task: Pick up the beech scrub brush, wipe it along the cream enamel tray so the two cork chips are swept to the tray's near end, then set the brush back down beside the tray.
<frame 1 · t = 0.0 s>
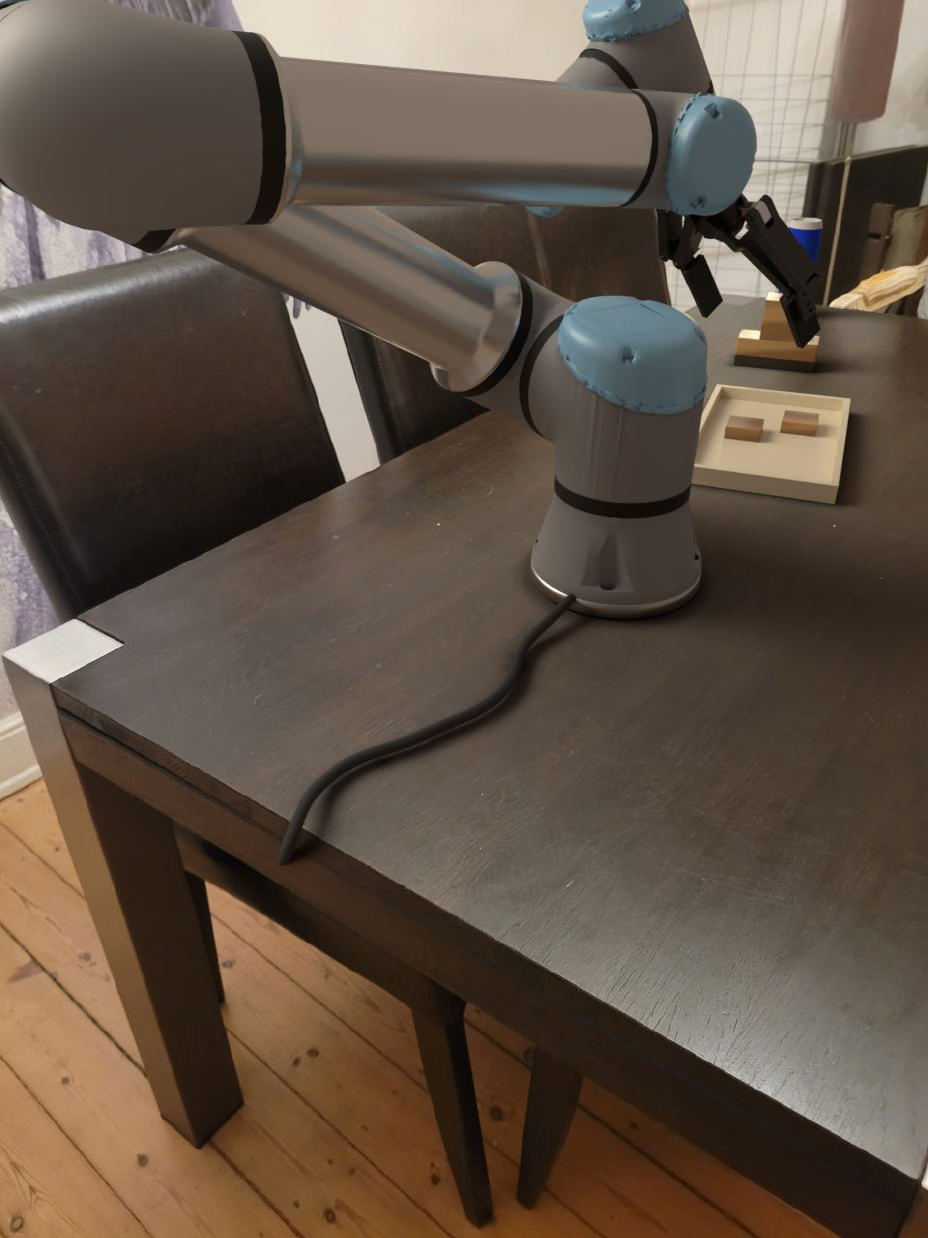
hand: (758, 322, 98), 15 cm above the table, tool tilted 35°, fingers open, 13 cm apart
chip a: (798, 429, 112), point 1 cm above the table, touching tray
tray: (767, 445, 109), on the table
beverage can: (790, 316, 156), on the table
chip b: (743, 434, 111), point 1 cm above the table, touching tray
brush: (774, 364, 134), on the table
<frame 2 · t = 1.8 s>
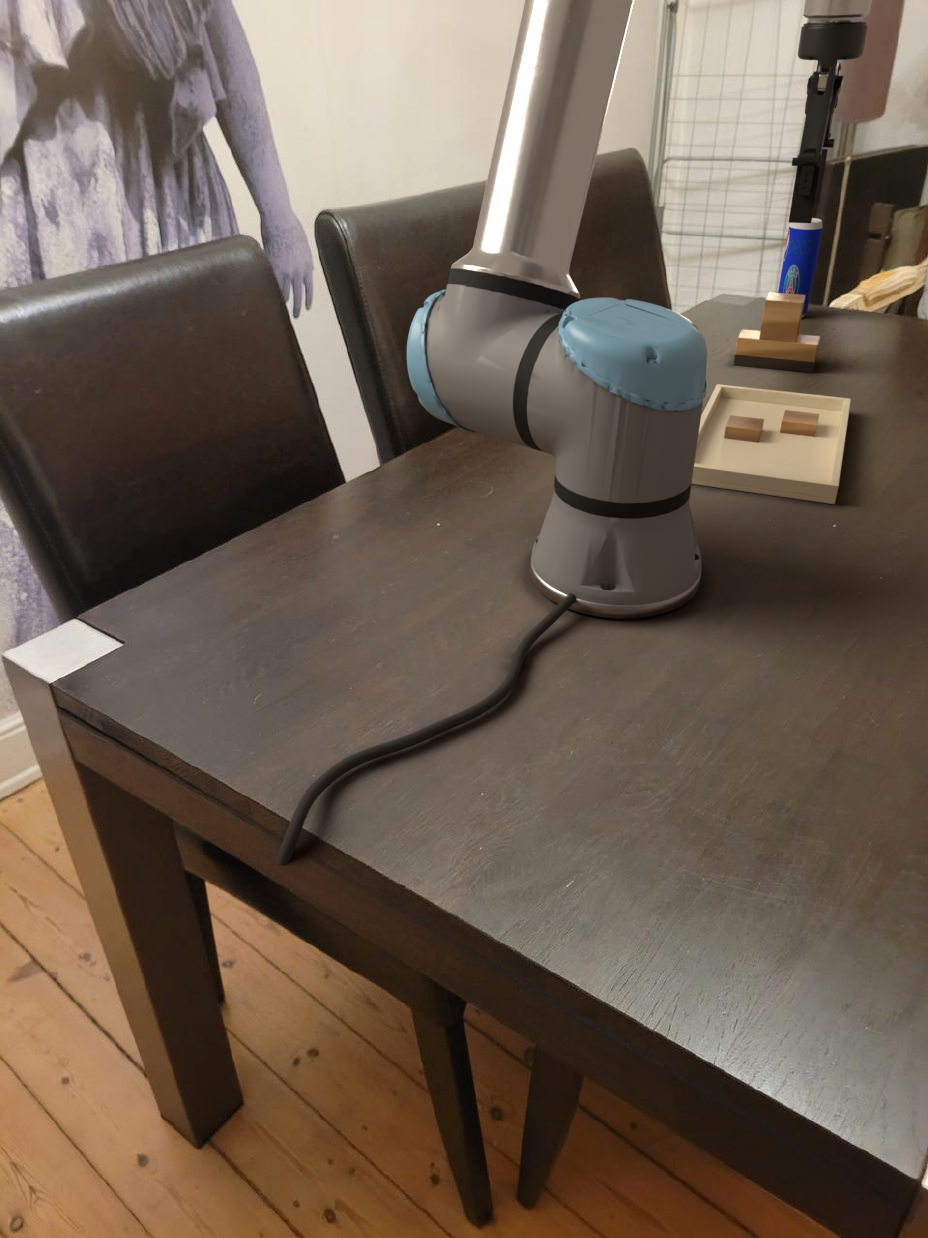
hand: (804, 211, 122), 21 cm above the table, tool pointing down, fingers open, 13 cm apart
nothing on the table moved.
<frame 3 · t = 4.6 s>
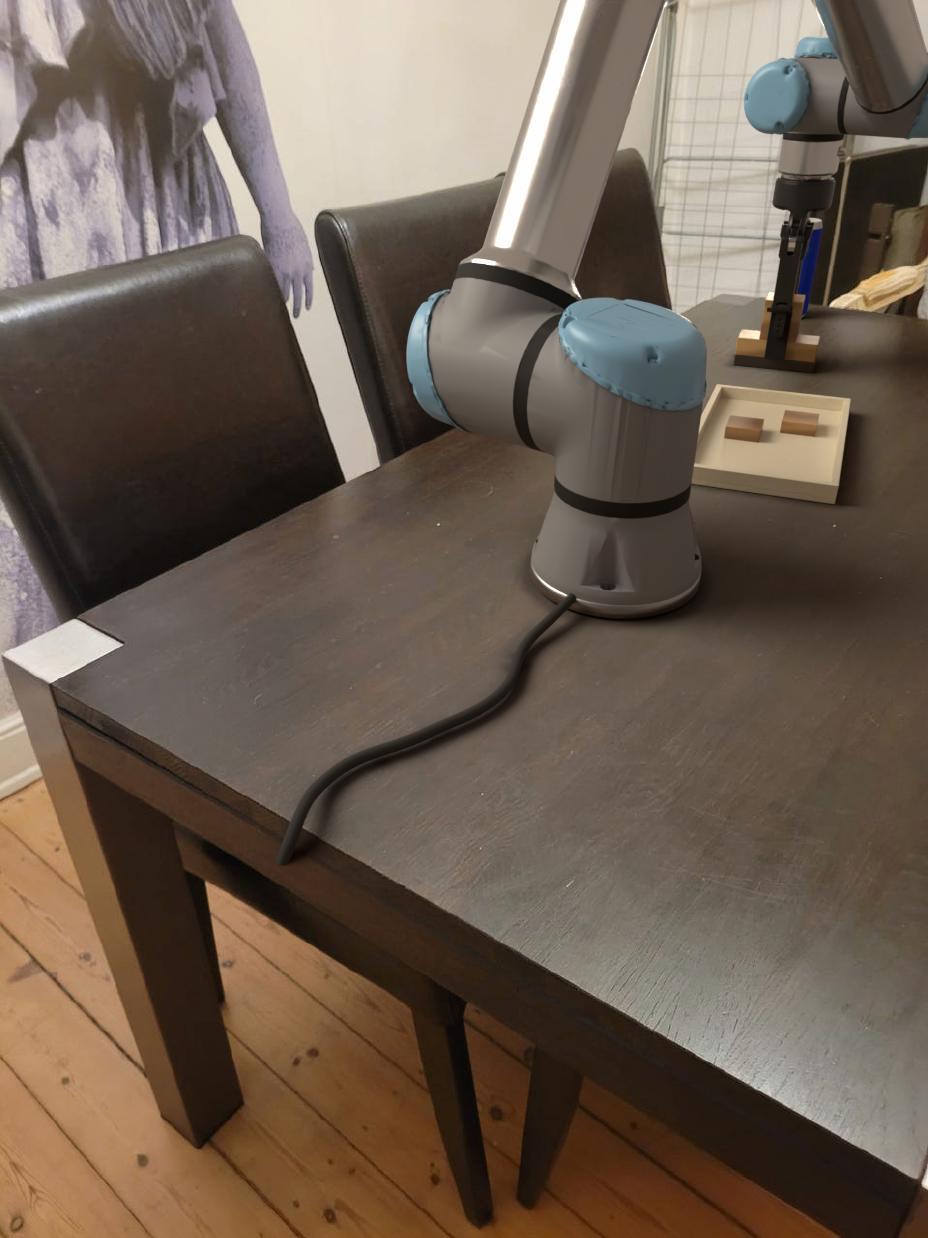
hand: (776, 352, 133), 2 cm above the table, tool pointing down, fingers closed on brush, 4 cm apart
brush: (774, 364, 134), on the table, touching gripper
everything else where it was.
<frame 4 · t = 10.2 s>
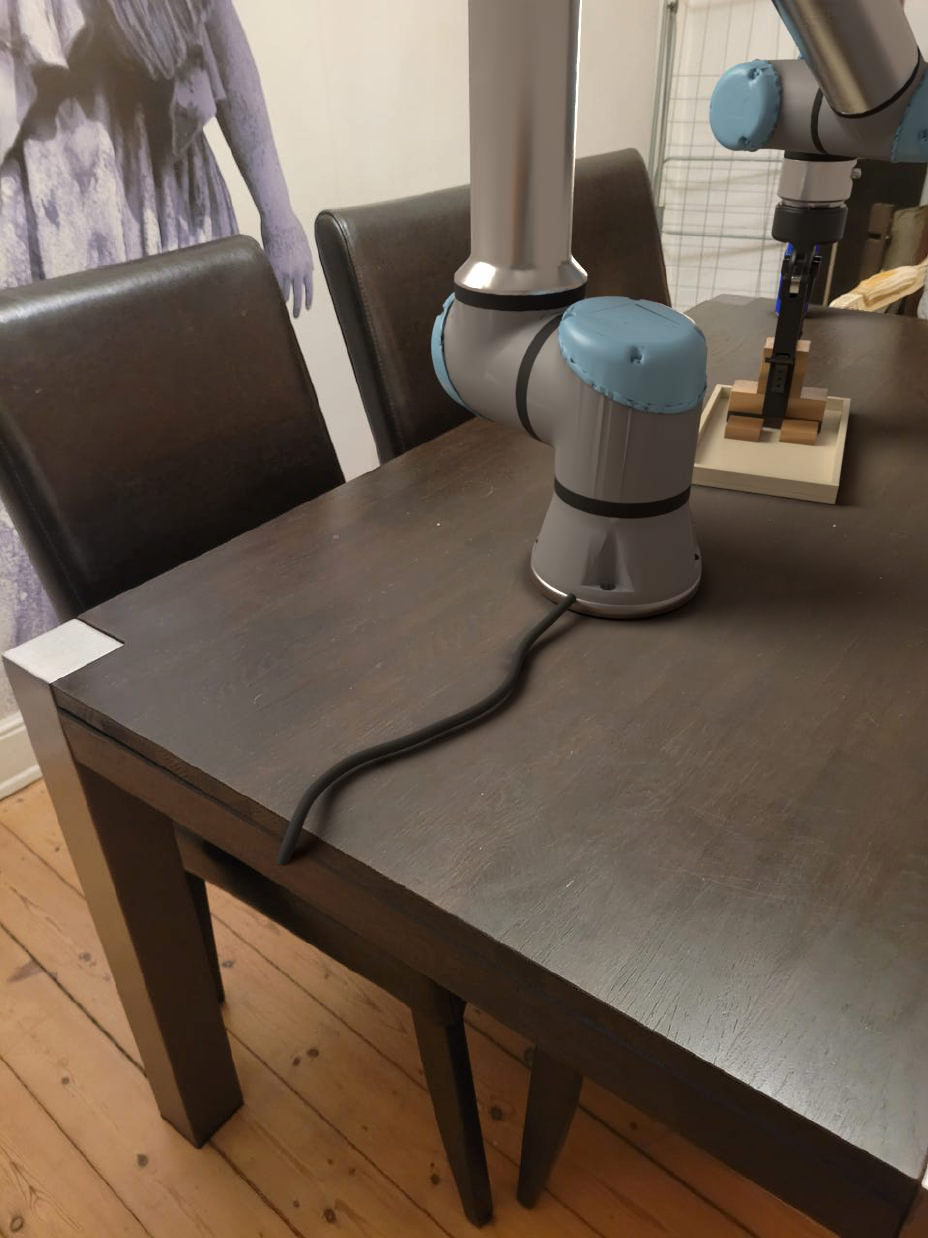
hand: (775, 408, 113), 2 cm above the table, tool pointing down, fingers closed on brush, 5 cm apart
chip a: (797, 437, 109), point 1 cm above the table, touching brush, gripper, tray
brush: (773, 421, 114), point 1 cm above the table, touching chip a, gripper
everything else where it was.
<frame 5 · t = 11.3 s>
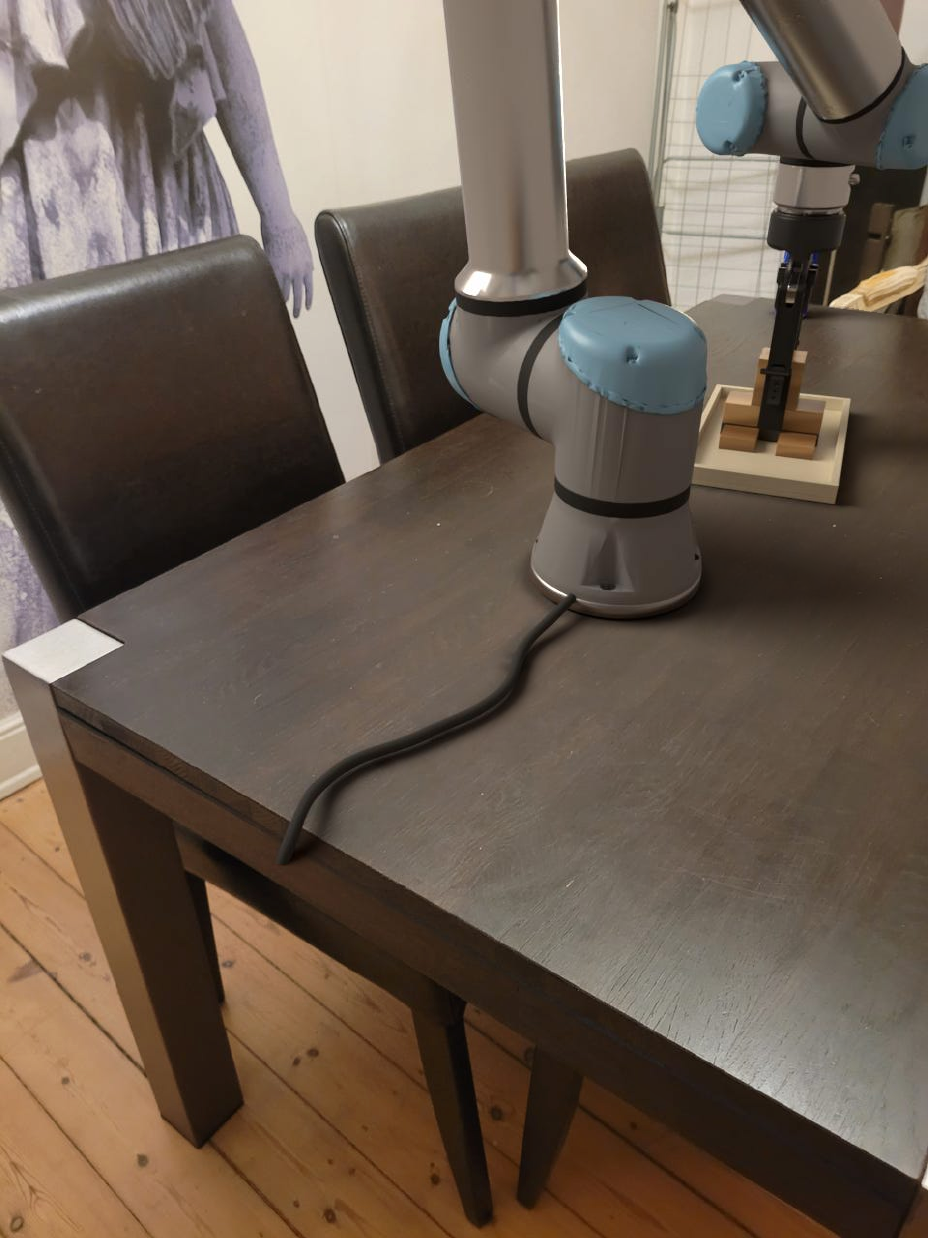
hand: (771, 420, 109), 2 cm above the table, tool pointing down, fingers closed on brush, 4 cm apart
chip a: (794, 451, 106), point 1 cm above the table, touching brush, gripper, tray
chip b: (738, 444, 108), point 1 cm above the table, touching tray
brush: (769, 433, 110), point 1 cm above the table, touching chip a, gripper
everything else where it was.
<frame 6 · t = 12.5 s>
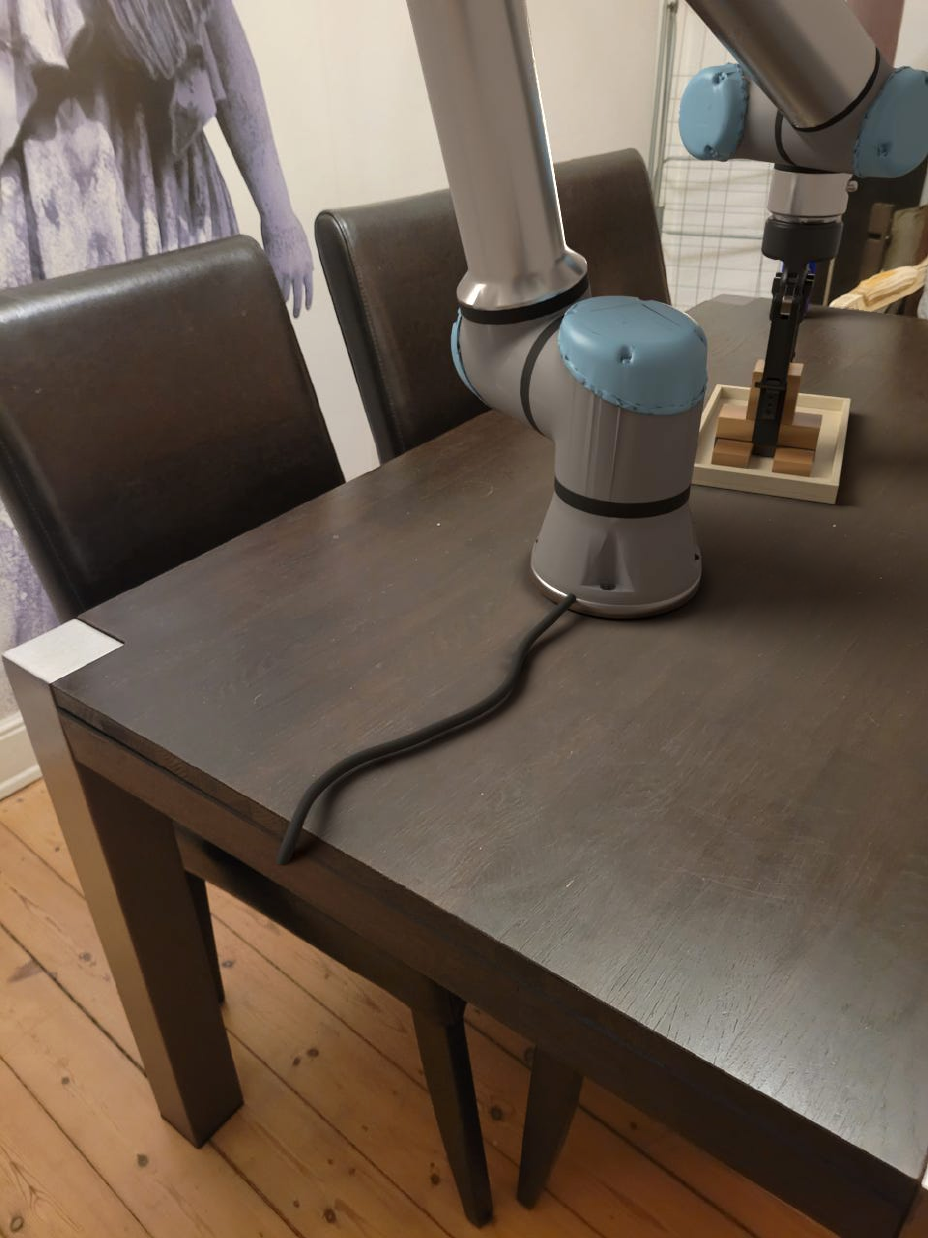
hand: (766, 434, 106), 2 cm above the table, tool pointing down, fingers closed on brush, 4 cm apart
chip a: (791, 467, 102), point 1 cm above the table, touching brush, gripper
chip b: (731, 459, 104), point 1 cm above the table, touching gripper
brush: (764, 448, 107), point 1 cm above the table, touching chip a, gripper
everything else where it was.
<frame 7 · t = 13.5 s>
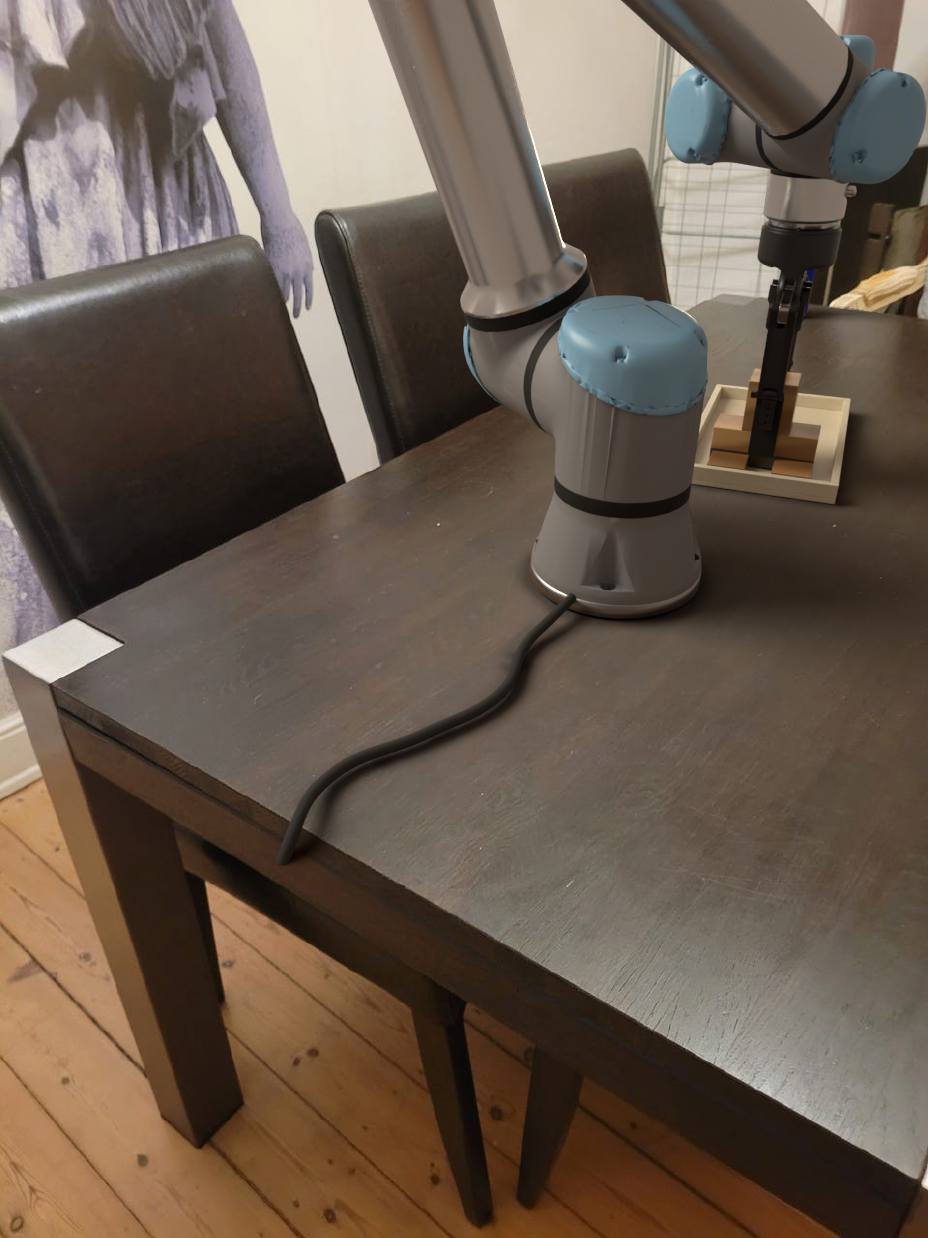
hand: (763, 445, 103), 2 cm above the table, tool pointing down, fingers closed on brush, 4 cm apart
chip a: (789, 480, 99), point 1 cm above the table, touching brush, tray
chip b: (726, 471, 102), point 1 cm above the table, touching brush
brush: (761, 459, 104), point 1 cm above the table, touching chip a, chip b, gripper
everything else where it was.
when the fingers open (2 cm above the table, at t = 21.0 s): brush stays where it is, on the table.
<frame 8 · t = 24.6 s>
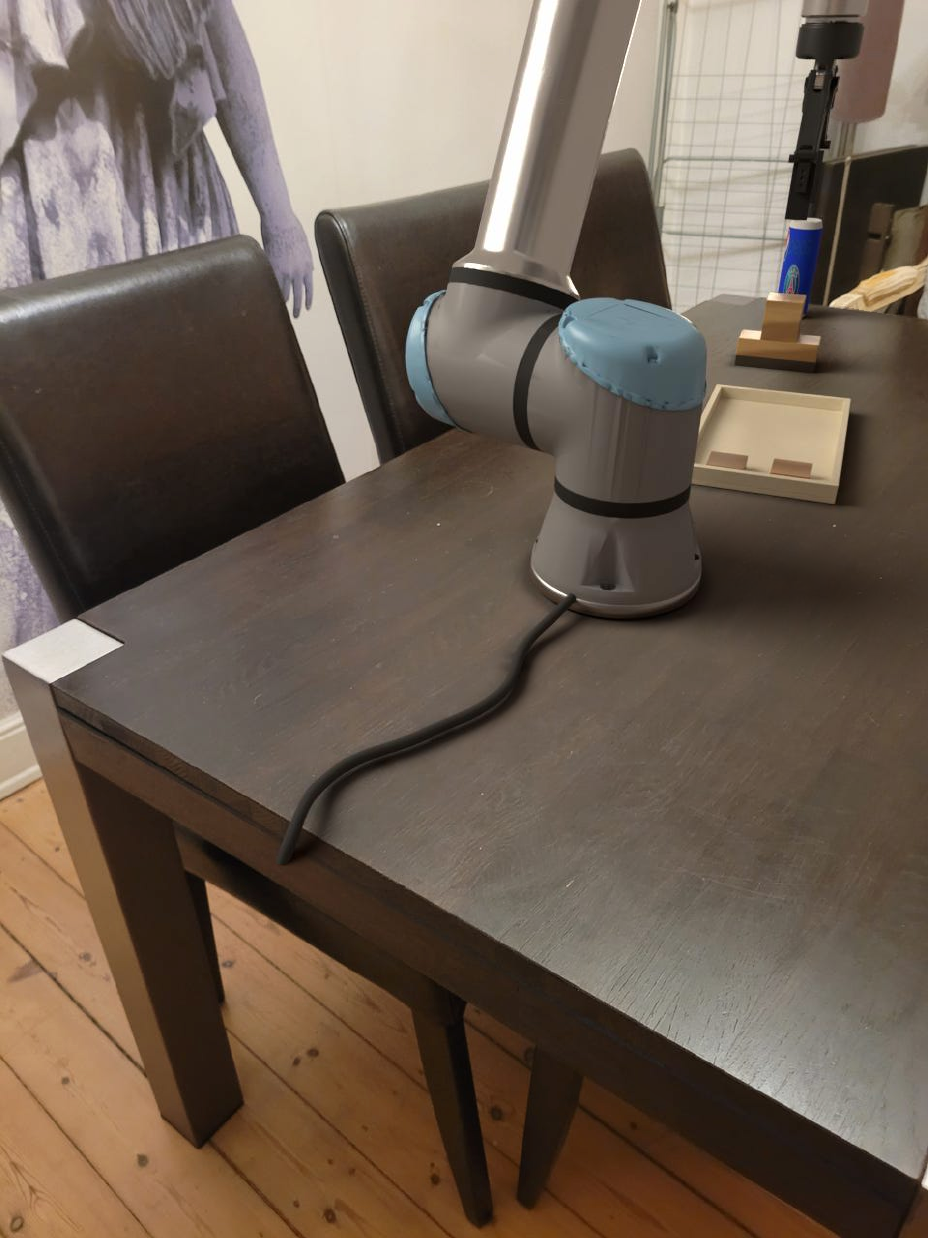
hand: (800, 210, 123), 21 cm above the table, tool pointing down, fingers open, 13 cm apart
chip a: (789, 480, 99), point 1 cm above the table, touching tray
chip b: (725, 472, 101), point 1 cm above the table, touching tray
brush: (775, 364, 134), on the table
everything else where it was.
at the end: chip a inside the target area in the tray (3.3 cm from its centre), point 0.6 cm above the tray's base; chip b inside the target area in the tray (3.5 cm from its centre), point 0.6 cm above the tray's base; the gripper is holding nothing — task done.
